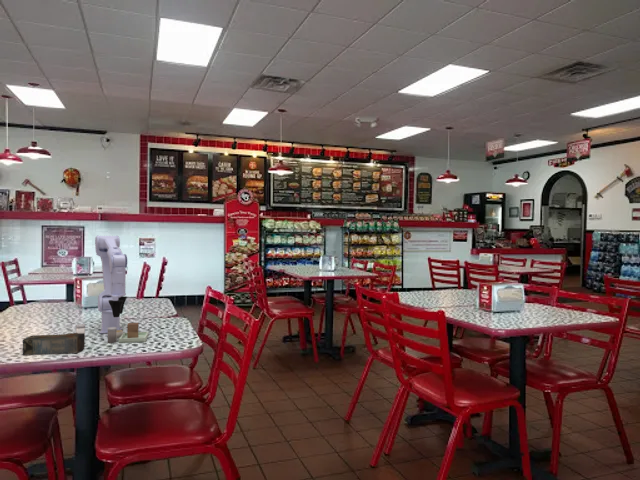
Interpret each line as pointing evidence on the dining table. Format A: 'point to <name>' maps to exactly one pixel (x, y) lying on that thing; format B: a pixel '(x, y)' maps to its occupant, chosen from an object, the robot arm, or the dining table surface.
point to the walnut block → (132, 330)
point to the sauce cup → (119, 333)
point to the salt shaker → (80, 328)
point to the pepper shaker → (112, 334)
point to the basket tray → (141, 338)
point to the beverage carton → (53, 344)
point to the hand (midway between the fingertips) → (117, 315)
